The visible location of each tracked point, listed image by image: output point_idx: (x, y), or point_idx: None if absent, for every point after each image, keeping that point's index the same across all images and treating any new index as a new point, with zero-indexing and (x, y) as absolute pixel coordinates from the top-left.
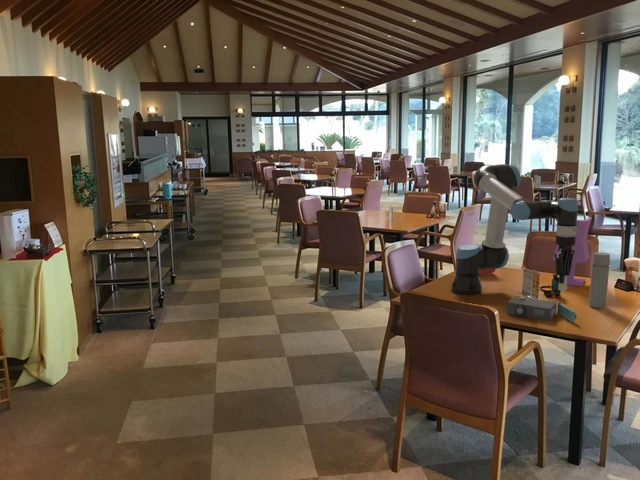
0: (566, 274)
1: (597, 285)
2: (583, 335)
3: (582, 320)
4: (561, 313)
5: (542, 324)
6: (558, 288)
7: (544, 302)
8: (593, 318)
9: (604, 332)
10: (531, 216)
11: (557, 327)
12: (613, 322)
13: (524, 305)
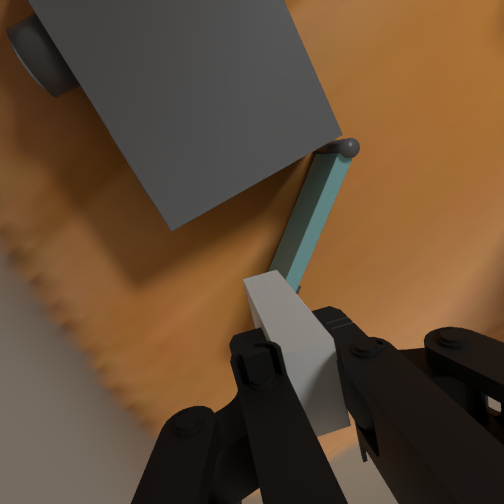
0: (356, 425)
1: None
2: None
3: (340, 282)
4: (304, 190)
5: (95, 240)
6: (245, 285)
7: (257, 94)
8: (411, 283)
9: None
10: None
11: (135, 309)
12: None
13: (64, 58)
